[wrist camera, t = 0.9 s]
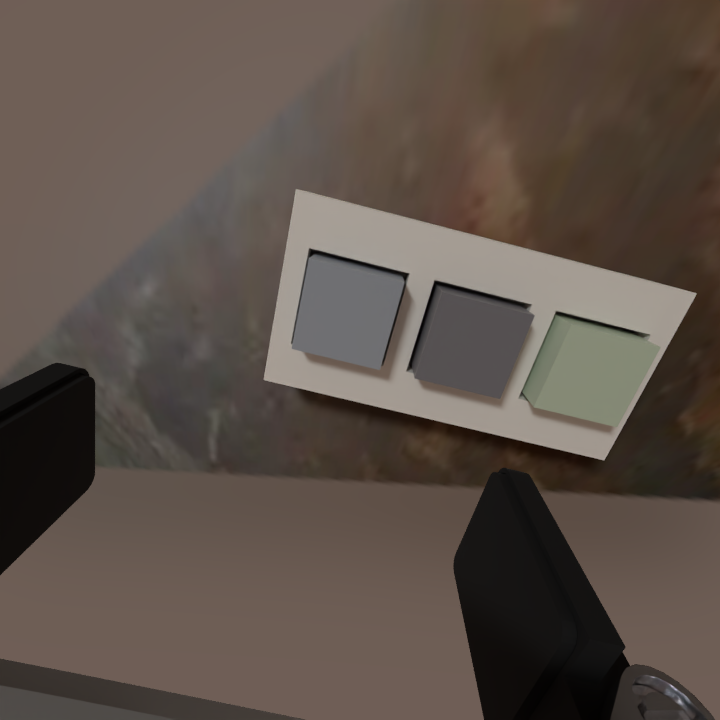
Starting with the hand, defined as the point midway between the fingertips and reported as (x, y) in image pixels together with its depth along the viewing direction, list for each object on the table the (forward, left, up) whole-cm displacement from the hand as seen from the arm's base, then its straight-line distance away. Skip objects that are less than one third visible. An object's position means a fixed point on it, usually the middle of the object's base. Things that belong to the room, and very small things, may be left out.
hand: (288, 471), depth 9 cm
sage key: (-14, 0, -16) cm, 21 cm away
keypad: (-7, 0, -18) cm, 20 cm away
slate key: (0, 0, -16) cm, 16 cm away
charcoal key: (-7, 0, -16) cm, 18 cm away
